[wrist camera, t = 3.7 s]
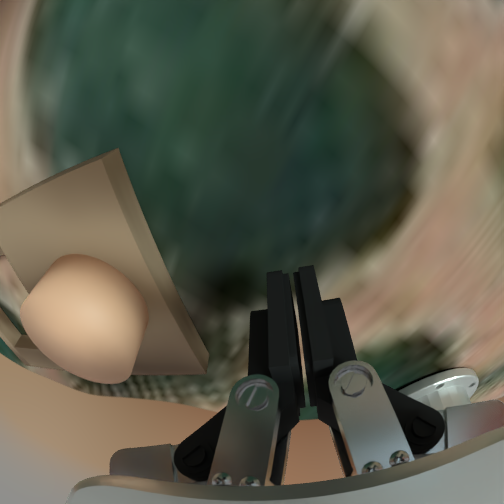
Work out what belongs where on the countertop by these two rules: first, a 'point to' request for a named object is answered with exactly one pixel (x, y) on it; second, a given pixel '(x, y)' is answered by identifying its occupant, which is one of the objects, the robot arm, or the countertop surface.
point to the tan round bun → (87, 318)
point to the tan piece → (101, 247)
